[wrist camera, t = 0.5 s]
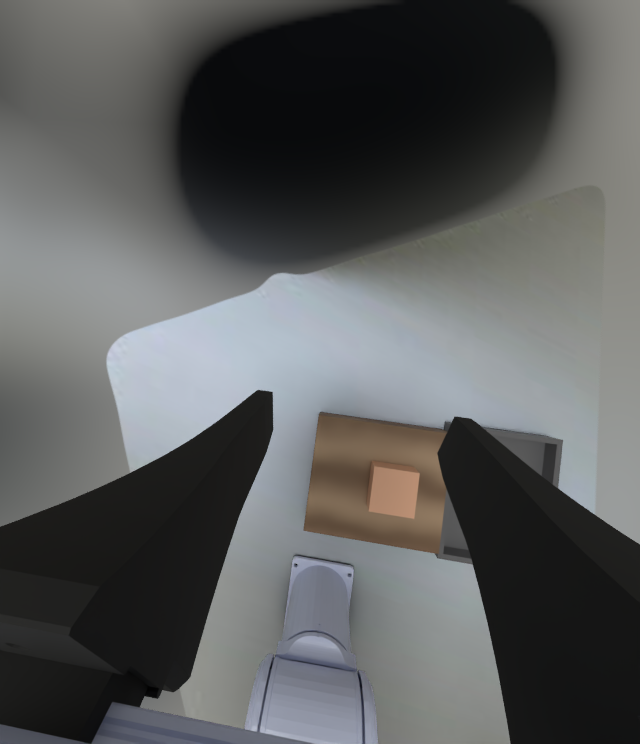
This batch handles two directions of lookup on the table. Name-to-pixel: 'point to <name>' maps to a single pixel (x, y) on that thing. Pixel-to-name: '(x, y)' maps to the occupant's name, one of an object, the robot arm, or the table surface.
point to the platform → (351, 480)
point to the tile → (392, 489)
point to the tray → (532, 451)
